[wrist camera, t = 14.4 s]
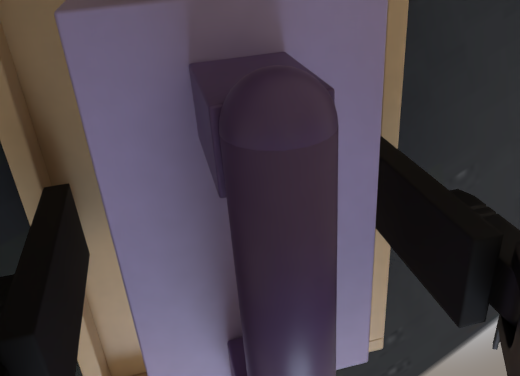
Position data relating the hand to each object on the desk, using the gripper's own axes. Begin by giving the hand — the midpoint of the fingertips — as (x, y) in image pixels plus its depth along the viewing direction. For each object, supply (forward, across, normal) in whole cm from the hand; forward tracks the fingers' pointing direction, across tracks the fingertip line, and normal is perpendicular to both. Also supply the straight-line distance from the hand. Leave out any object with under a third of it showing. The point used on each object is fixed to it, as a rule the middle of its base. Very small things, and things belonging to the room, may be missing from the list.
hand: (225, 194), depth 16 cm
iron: (+1, 0, 0) cm, 1 cm away
